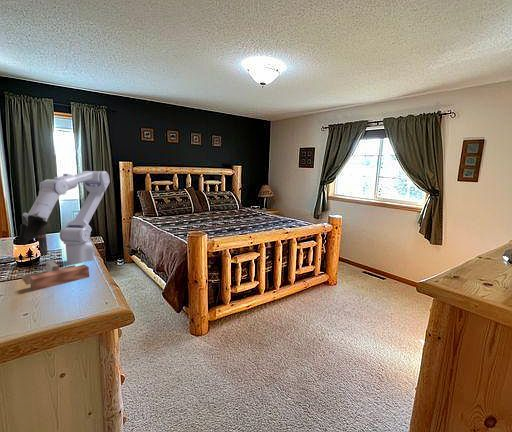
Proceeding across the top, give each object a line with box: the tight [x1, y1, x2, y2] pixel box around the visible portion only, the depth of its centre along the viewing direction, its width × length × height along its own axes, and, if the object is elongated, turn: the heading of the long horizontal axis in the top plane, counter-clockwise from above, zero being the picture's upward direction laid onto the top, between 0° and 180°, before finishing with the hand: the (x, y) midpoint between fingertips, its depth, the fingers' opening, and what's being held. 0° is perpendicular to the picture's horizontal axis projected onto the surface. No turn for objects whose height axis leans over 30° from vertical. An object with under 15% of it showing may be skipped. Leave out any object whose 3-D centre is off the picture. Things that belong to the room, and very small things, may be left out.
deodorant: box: [34, 225, 48, 257], centre depth 127 cm, size 6×6×15 cm
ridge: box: [42, 260, 61, 273], centre depth 102 cm, size 4×9×4 cm, turn 49°
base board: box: [20, 264, 77, 285], centre depth 102 cm, size 17×11×1 cm, turn 139°
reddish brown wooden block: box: [30, 264, 90, 291], centre depth 95 cm, size 16×4×5 cm, turn 141°
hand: (24, 241), depth 92 cm, fingers open, 7 cm apart
